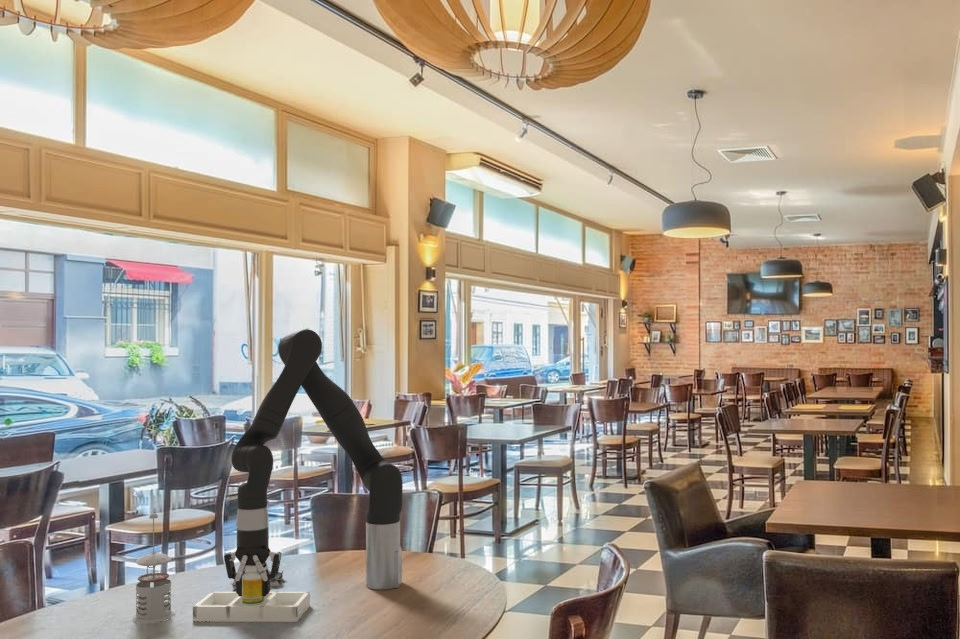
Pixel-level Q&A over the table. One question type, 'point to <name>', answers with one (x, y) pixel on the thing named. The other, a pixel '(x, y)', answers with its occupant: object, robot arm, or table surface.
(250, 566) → the supplement bottle
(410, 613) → the table surface
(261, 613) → the rack
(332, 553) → the table surface
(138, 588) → the french press
